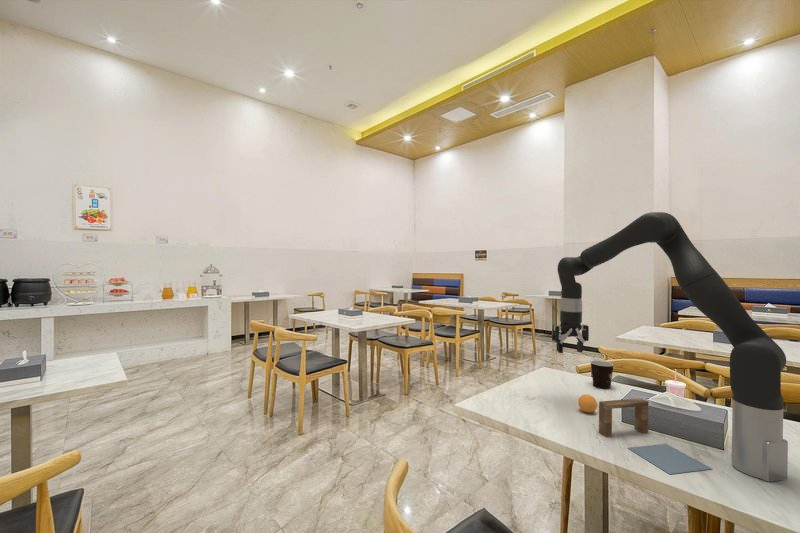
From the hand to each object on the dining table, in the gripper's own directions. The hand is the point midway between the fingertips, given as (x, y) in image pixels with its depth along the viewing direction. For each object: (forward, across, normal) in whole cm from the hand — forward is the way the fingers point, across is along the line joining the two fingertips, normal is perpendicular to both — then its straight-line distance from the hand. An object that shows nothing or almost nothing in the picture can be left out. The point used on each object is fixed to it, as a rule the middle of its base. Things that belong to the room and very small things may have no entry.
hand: (569, 352), depth 137 cm
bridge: (+18, 0, -26) cm, 32 cm away
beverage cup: (+19, +35, -12) cm, 42 cm away
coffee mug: (+19, +23, +12) cm, 33 cm away
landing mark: (+18, 0, -41) cm, 45 cm away
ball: (+16, 0, -10) cm, 19 cm away
